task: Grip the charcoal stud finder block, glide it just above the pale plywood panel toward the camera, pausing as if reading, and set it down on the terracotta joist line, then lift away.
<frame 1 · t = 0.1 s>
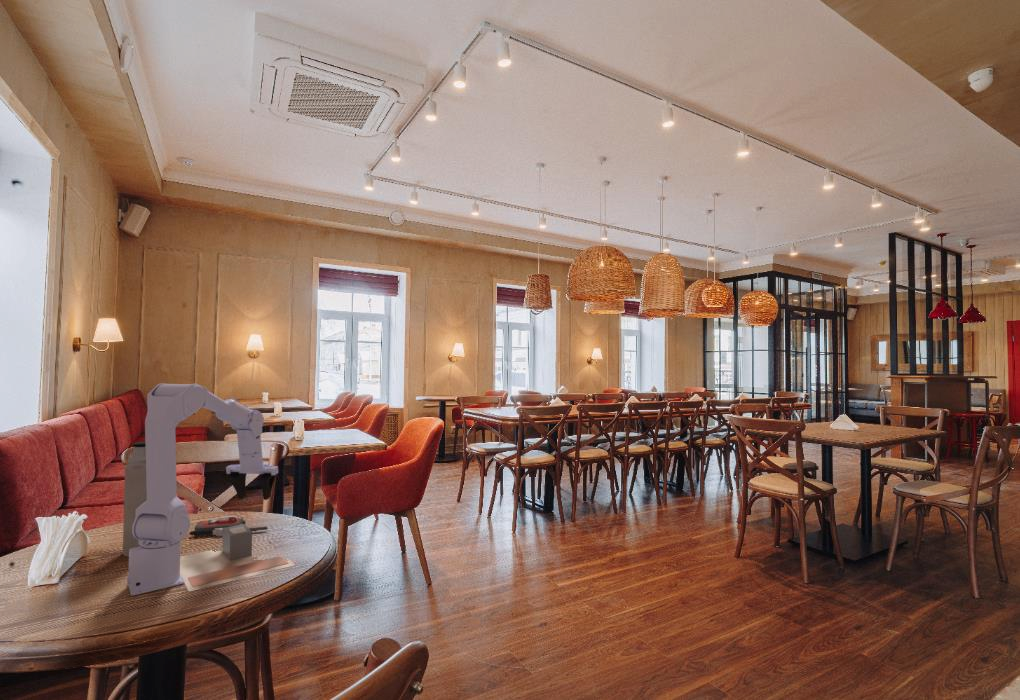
hand: (254, 497, 143), 10 cm above the table, tool pointing down, fingers open, 7 cm apart
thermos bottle: (142, 551, 131), on the table
subfloor panel: (232, 561, 124), on the table
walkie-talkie: (231, 533, 146), on the table
stud finder: (236, 553, 129), resting on subfloor panel
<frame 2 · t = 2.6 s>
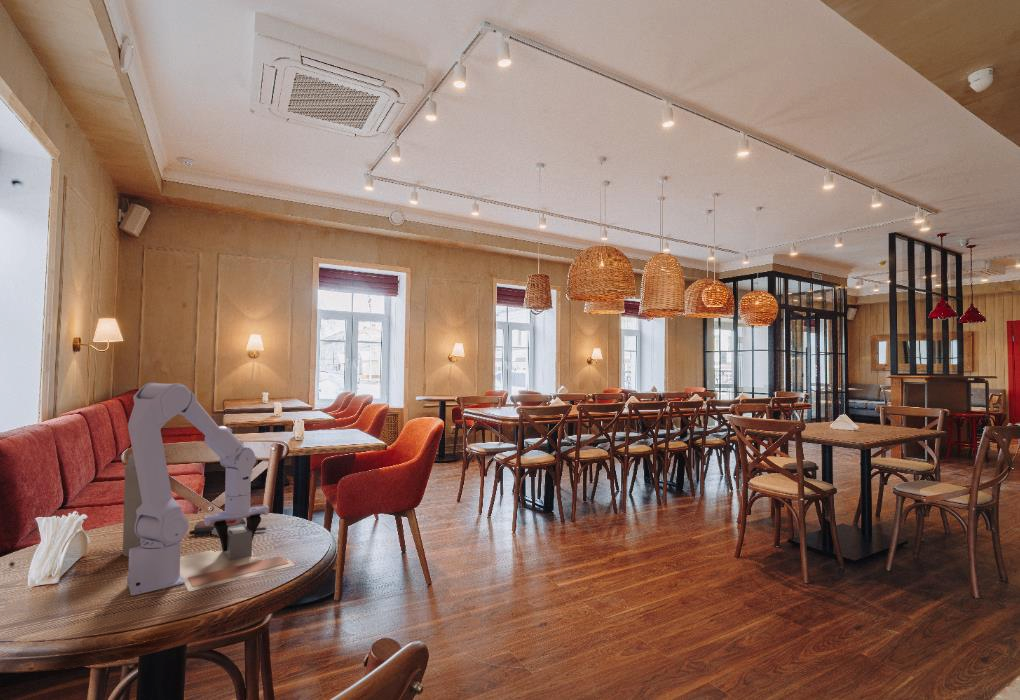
hand: (236, 547, 129), 2 cm above the table, tool pointing down, fingers closed on stud finder, 5 cm apart
stud finder: (236, 553, 129), resting on subfloor panel, touching gripper
everything else where it was.
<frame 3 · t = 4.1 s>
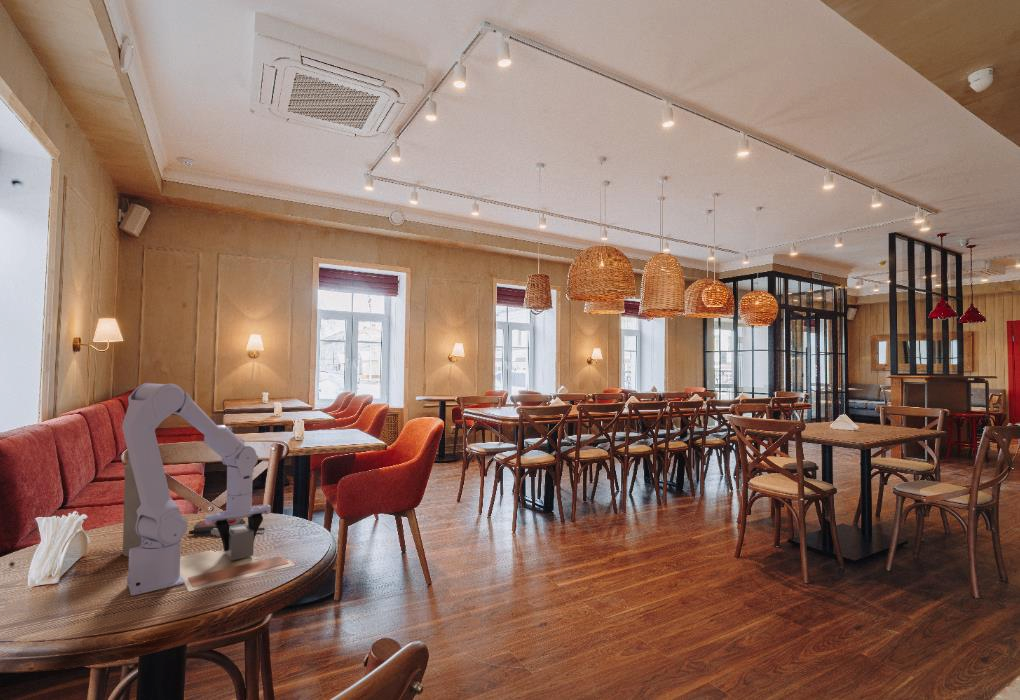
hand: (238, 547, 128), 2 cm above the table, tool pointing down, fingers closed on stud finder, 5 cm apart
stud finder: (238, 553, 128), point 1 cm above the table, touching gripper
everything else where it was.
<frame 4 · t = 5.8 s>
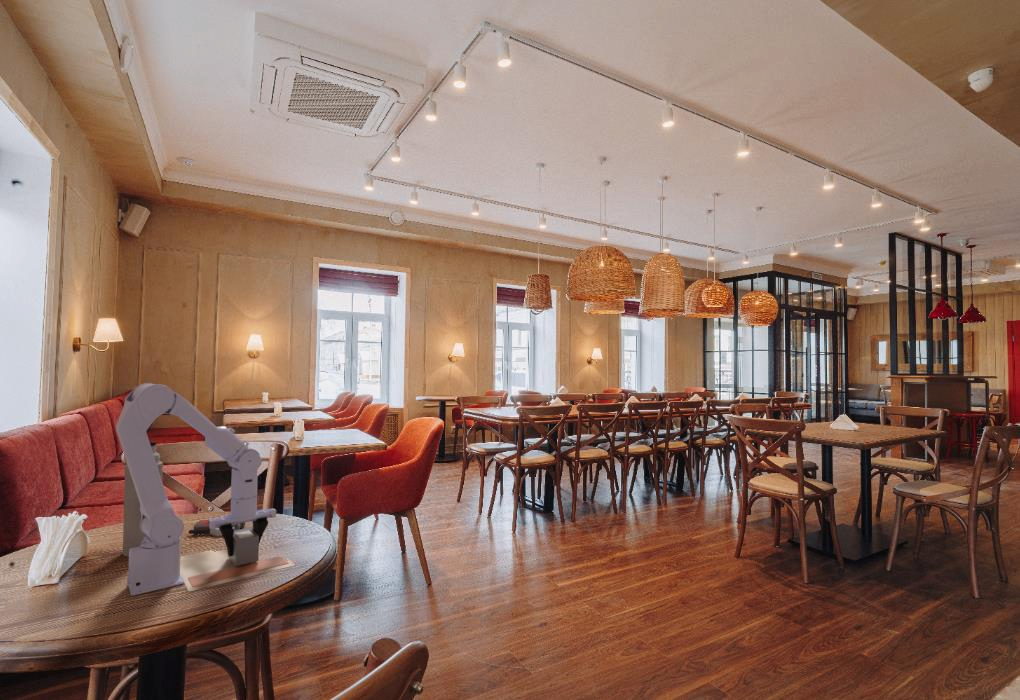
hand: (243, 552, 124), 2 cm above the table, tool pointing down, fingers closed on stud finder, 5 cm apart
stud finder: (242, 558, 124), point 1 cm above the table, touching gripper
everything else where it was.
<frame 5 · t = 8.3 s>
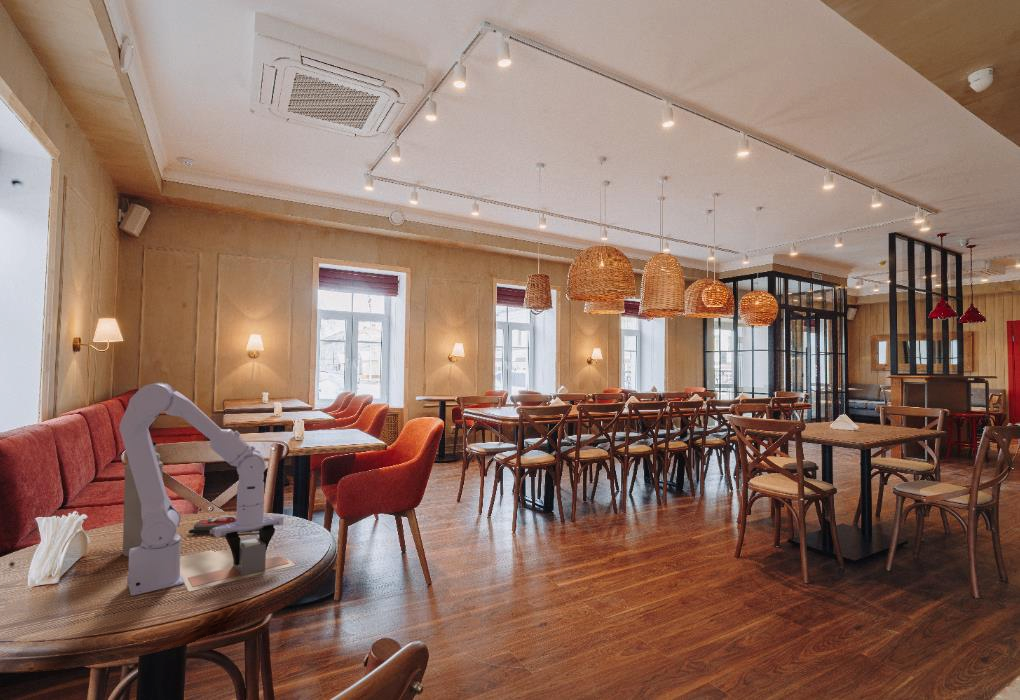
hand: (249, 561, 120), 2 cm above the table, tool pointing down, fingers closed on stud finder, 5 cm apart
stud finder: (249, 567, 120), resting on subfloor panel, touching gripper
when the fingers open (2 cm above the table, at t = 8.6 s): stud finder stays where it is, resting on subfloor panel.
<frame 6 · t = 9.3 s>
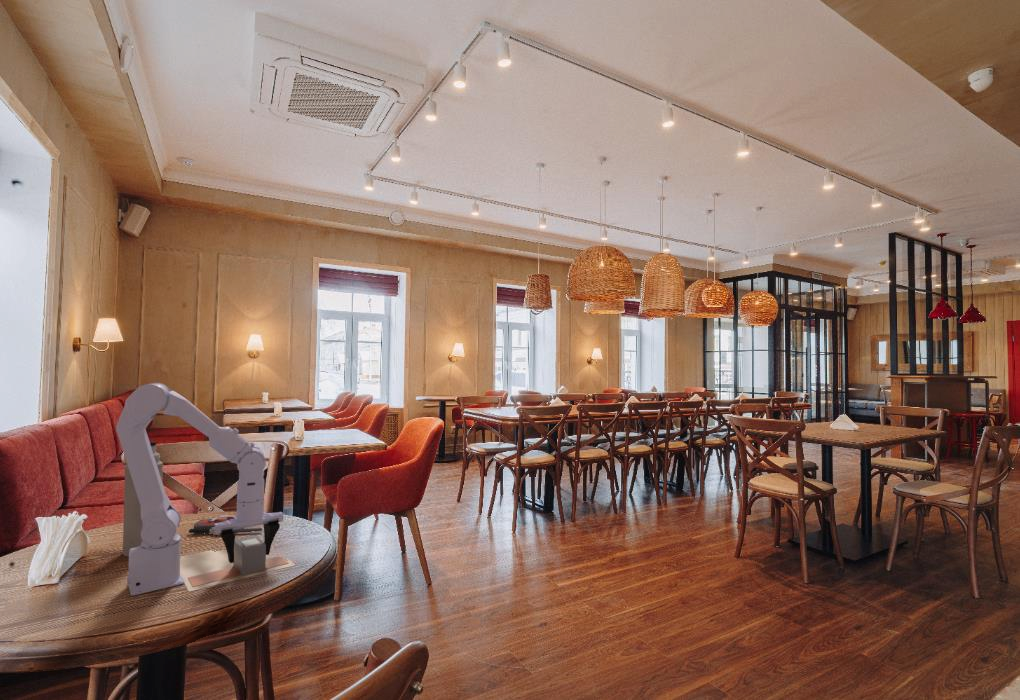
hand: (249, 557, 120), 3 cm above the table, tool pointing down, fingers open, 7 cm apart
stud finder: (249, 567, 120), resting on subfloor panel
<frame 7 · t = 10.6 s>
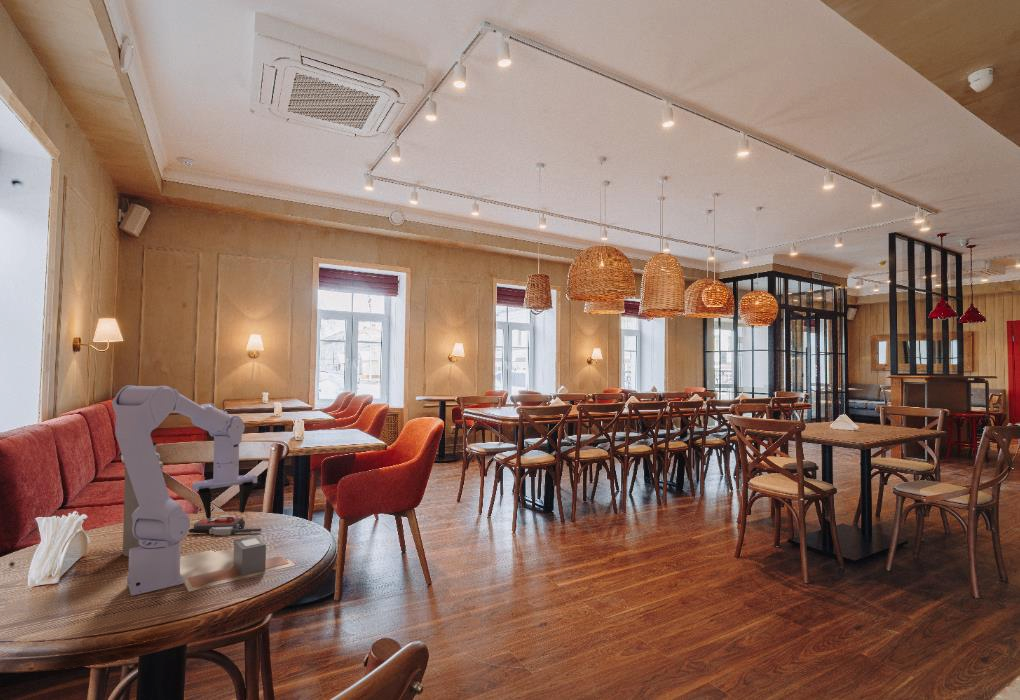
hand: (225, 514, 131), 9 cm above the table, tool pointing down, fingers open, 7 cm apart
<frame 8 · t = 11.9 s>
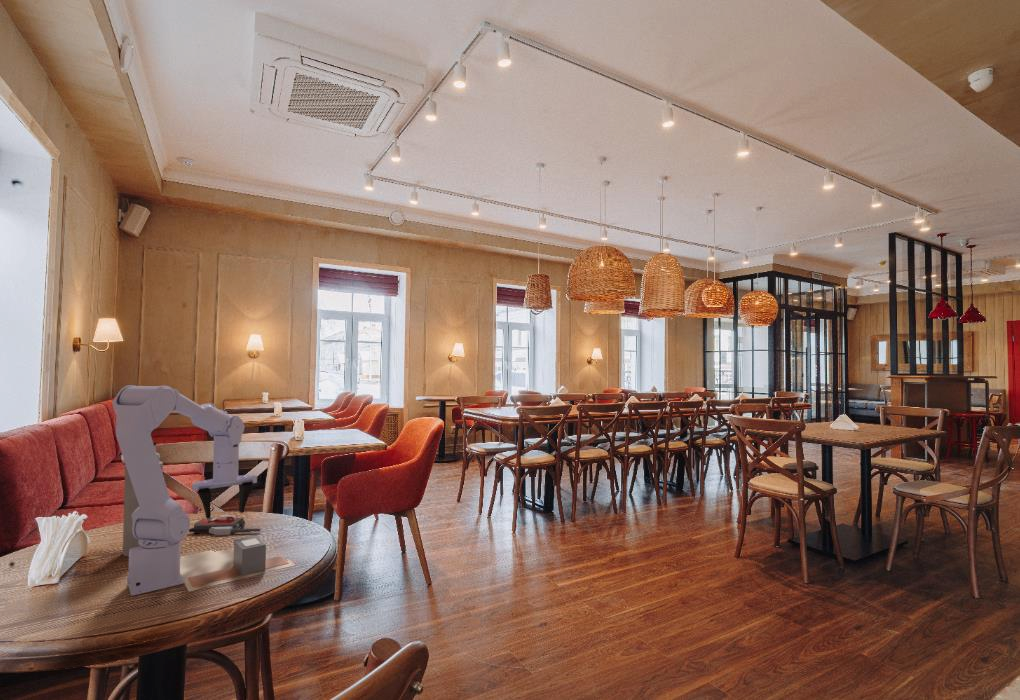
hand: (225, 514, 131), 9 cm above the table, tool pointing down, fingers open, 7 cm apart
at the end: stud finder inside the target area (0.1 cm from its centre), resting on subfloor panel; stud finder tilted 0°; the gripper is holding nothing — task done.
